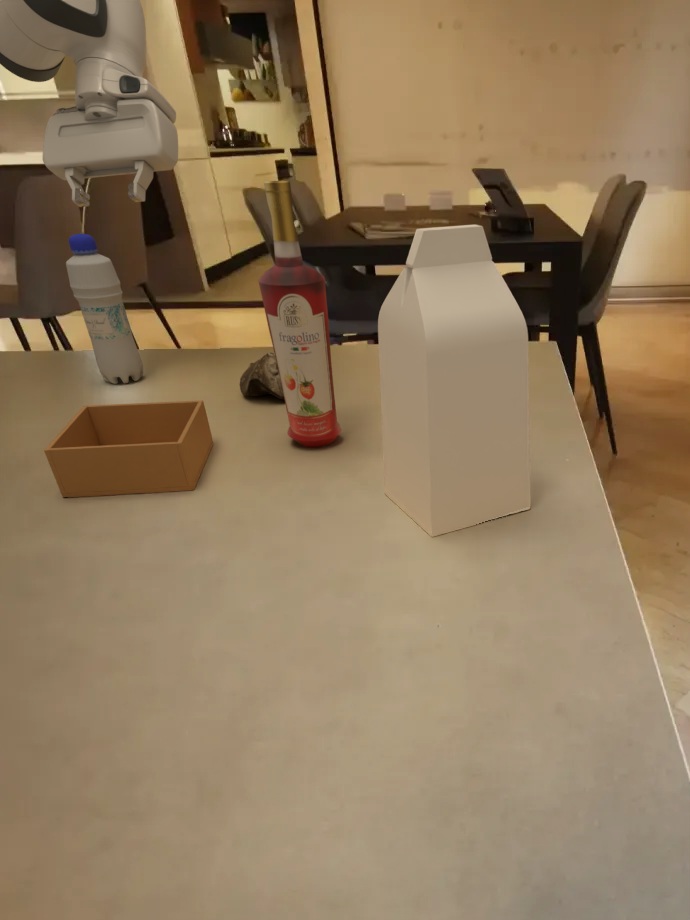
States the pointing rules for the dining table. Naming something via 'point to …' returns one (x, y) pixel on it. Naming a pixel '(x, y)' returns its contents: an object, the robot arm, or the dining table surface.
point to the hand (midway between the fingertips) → (108, 202)
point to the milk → (454, 385)
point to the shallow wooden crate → (131, 449)
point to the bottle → (103, 310)
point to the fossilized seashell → (262, 378)
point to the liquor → (299, 328)
